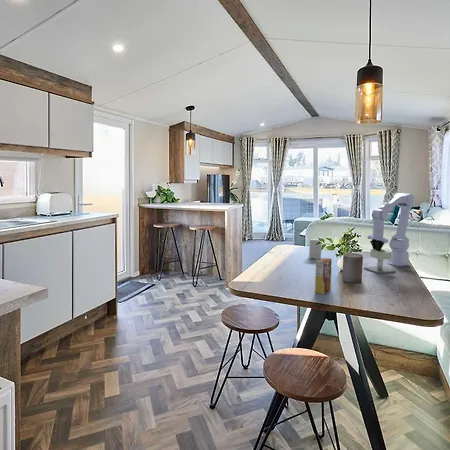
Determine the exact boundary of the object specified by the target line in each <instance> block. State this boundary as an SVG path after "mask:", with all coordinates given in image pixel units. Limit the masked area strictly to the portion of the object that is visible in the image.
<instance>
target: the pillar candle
mask: <svg viewBox="0 0 450 450" xmlns="http://www.w3.org/2000/svg"><path fill="white" fill-rule="evenodd" d="M363 256H364V255H363V254H361V253H355V252H347V253H343V255H342V278H341V280H342V281H343V282H346V283H350V284H351V283H352V284H359V283H362V280H363V279H362V277H363V261H364V257H363Z"/></svg>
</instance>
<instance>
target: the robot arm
mask: <svg viewBox="0 0 450 450" xmlns="http://www.w3.org/2000/svg"><path fill="white" fill-rule="evenodd" d="M414 202H415V196H414V195H413V193H404V192H403V193H400V192H396V193H394V194H393V197H392V199H390V201H389V202H383V204H382V205H381V206H379V207H378V208H375V209H373V210H372V212H371V217H372V223H373V225H372V235H371V234H370V235H367V239H368V240H370V241H369V242H370V244H371V246H372V249H376V251H381V249H383V247H384V245H385V244H388V243H389V248H390V250H391V252H392V258H391V259H390V260H391V262H387V264H389V265H393V266H396V267H404V266H410V264H409V259H410V258H409V257H410V254H409V251H408V250H409V248H410V239H409V237H407V235H406V233H407V229H408V224H409V223H408V222H409V219H410V214H411V209H412V208H413V206H414V204H415V203H414ZM395 206H397V207H399V208H400V212H399V219H398V222H397V228H396V233H395V234H393V235H392V236H391V239H390V240H389V239H388V238H385V237H384V229H385V220H386V219H387V217H388V215H389V214H390V213H391V212H392V211H393V210H394V207H395Z"/></svg>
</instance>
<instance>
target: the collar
mask: <svg viewBox="0 0 450 450" xmlns="http://www.w3.org/2000/svg"><path fill="white" fill-rule="evenodd" d="M369 254H370V256H369V257H371V258H374V259H377V260H378V259H380V260H391V259H392V250H391V251H390V250H388V249H384V248H381V251H376V249H373V248H371V249H370V253H369Z"/></svg>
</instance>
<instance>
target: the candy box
mask: <svg viewBox="0 0 450 450" xmlns="http://www.w3.org/2000/svg"><path fill="white" fill-rule="evenodd" d="M332 261H333V260H332V258H330V257H329V258H328V257H323V258H322V257H321V259H316V260H315V277H314V278H315V279H314V281H315V284H314V285H315V288H314V293H315V294H319V295H324V294H326V293H328V292H330V291H331V290H332Z"/></svg>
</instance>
